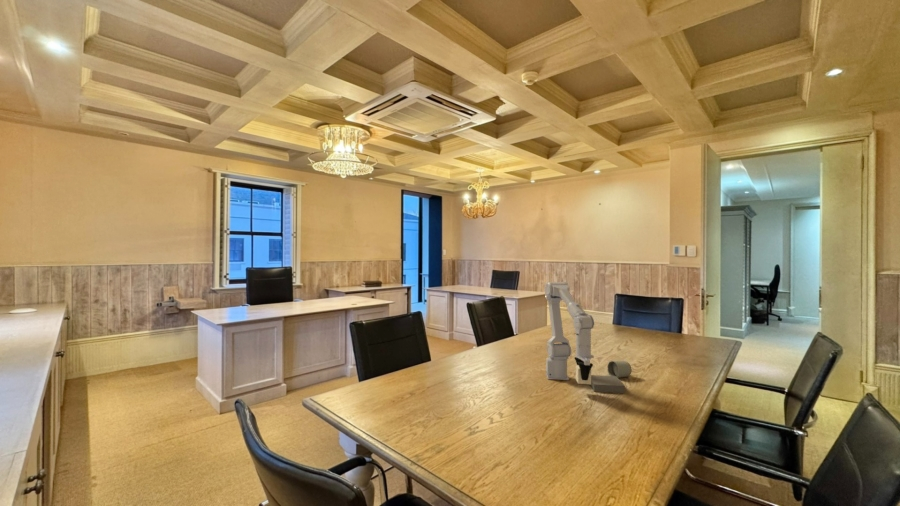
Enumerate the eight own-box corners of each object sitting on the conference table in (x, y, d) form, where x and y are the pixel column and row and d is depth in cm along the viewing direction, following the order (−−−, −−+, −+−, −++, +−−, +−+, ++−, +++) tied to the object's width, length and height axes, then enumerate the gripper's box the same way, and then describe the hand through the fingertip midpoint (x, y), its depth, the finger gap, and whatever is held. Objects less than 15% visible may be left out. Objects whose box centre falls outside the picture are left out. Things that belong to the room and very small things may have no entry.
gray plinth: (594, 391, 152) (594, 384, 152) (587, 381, 164) (587, 374, 164) (624, 393, 151) (624, 385, 151) (616, 383, 162) (616, 376, 162)
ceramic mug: (633, 378, 169) (633, 361, 169) (618, 380, 166) (618, 363, 166) (616, 371, 179) (616, 355, 179) (602, 373, 176) (602, 357, 176)
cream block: (578, 383, 148) (578, 368, 148) (575, 379, 153) (575, 365, 153) (591, 384, 147) (591, 369, 147) (588, 380, 152) (588, 365, 152)
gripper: (598, 349, 142) (597, 384, 142) (589, 340, 157) (589, 372, 157) (579, 348, 143) (579, 383, 143) (572, 340, 158) (572, 371, 158)
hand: (583, 377), depth 150 cm, fingers closed on cream block, 5 cm apart
